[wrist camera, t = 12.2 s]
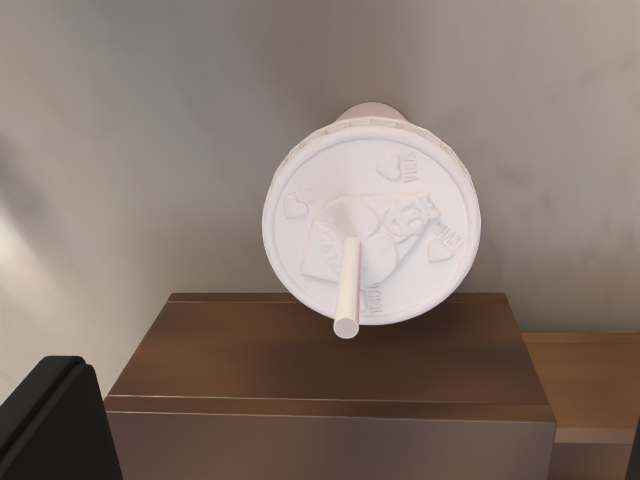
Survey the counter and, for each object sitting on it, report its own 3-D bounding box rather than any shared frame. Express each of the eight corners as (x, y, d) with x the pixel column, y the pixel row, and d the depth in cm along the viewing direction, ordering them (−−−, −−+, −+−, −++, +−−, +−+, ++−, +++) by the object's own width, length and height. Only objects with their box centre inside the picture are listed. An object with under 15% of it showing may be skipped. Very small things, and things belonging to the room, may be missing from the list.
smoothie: (271, 118, 25) (164, 266, 12) (400, 38, 23) (435, 114, 10) (345, 234, 27) (320, 464, 14) (469, 169, 25) (569, 367, 12)
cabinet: (504, 292, 27) (558, 422, 19) (483, 506, 34) (516, 670, 26) (171, 292, 29) (95, 411, 21) (209, 496, 35) (162, 647, 27)
